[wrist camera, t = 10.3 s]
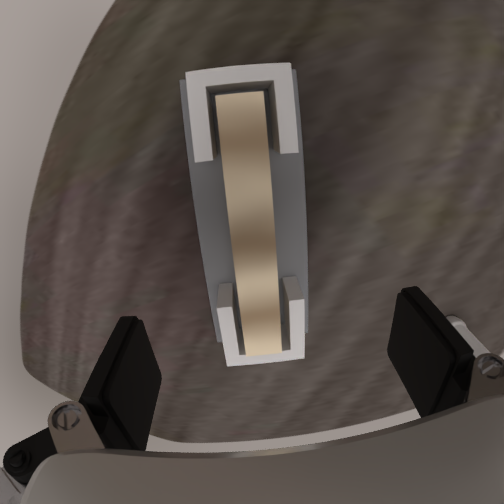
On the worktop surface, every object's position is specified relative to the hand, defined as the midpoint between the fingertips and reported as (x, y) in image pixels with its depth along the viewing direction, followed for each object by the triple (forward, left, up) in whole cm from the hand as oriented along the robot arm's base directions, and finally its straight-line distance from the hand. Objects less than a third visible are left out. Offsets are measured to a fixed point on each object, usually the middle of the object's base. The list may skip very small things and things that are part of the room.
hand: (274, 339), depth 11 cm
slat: (+1, 0, -16) cm, 16 cm away
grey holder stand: (0, 0, -17) cm, 17 cm away
